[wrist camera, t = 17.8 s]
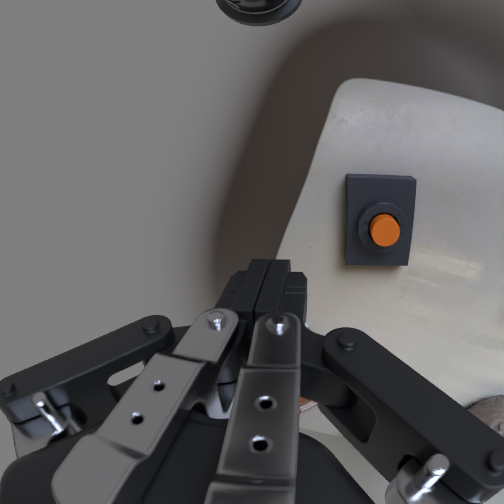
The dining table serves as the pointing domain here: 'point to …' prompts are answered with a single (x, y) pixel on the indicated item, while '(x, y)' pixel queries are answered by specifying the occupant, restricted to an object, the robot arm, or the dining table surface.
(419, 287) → the dining table surface
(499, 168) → the dining table surface
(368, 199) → the button base
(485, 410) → the bowl
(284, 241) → the dining table surface
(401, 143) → the dining table surface
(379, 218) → the button
